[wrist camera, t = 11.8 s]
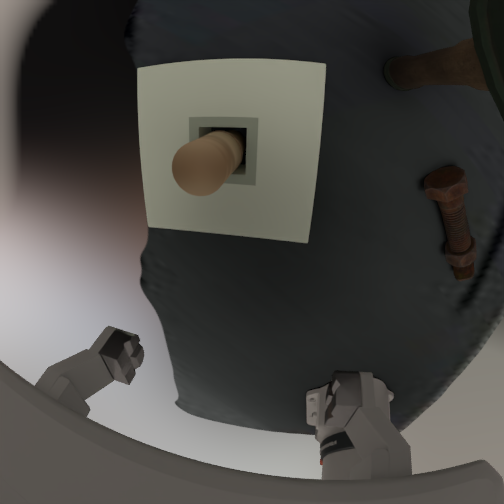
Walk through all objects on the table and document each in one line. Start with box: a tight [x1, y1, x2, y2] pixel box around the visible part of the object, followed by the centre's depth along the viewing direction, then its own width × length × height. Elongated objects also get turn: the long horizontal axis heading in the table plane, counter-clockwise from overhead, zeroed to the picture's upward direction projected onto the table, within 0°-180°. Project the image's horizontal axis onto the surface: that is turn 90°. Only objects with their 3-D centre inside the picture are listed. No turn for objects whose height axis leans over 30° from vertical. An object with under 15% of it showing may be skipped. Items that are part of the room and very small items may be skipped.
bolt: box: [424, 166, 476, 281], centre depth 27 cm, size 6×5×15 cm
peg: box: [172, 130, 246, 196], centre depth 24 cm, size 4×4×11 cm
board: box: [138, 59, 326, 243], centre depth 27 cm, size 18×18×4 cm
